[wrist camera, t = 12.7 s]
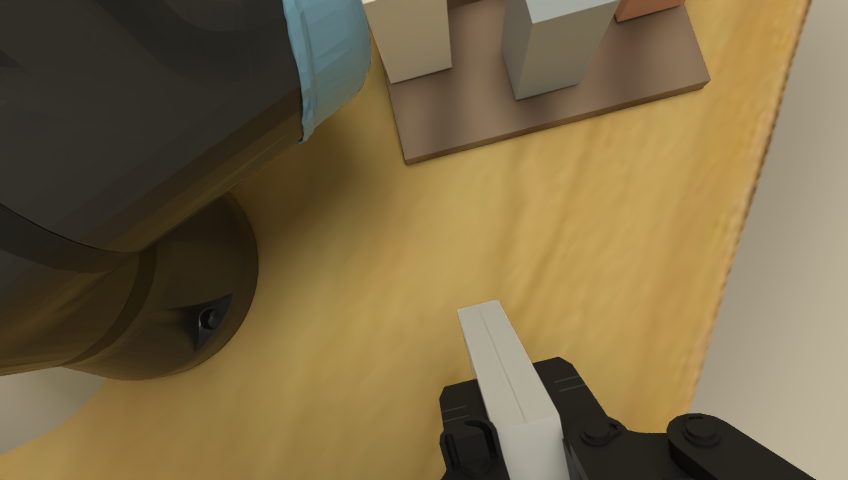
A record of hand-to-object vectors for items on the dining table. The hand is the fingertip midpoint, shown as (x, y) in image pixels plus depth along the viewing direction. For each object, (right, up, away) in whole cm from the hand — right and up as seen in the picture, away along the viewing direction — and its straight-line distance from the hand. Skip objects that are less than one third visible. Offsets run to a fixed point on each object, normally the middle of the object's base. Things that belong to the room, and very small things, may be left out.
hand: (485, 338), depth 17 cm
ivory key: (-3, +17, +16) cm, 24 cm away
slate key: (+6, +15, +15) cm, 23 cm away
